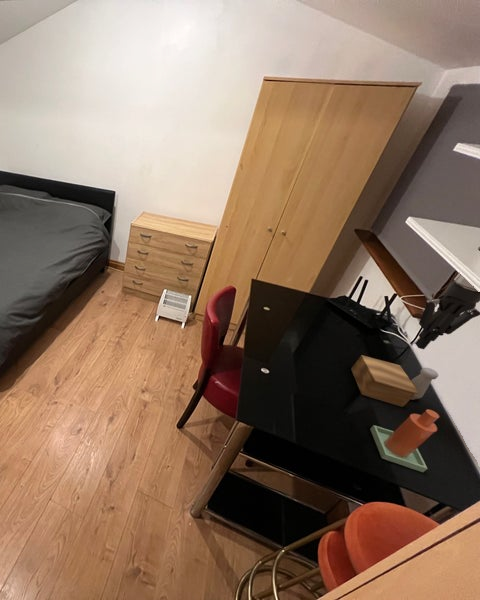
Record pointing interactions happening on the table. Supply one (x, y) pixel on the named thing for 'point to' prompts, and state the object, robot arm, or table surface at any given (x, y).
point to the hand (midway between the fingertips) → (419, 346)
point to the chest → (378, 387)
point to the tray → (411, 461)
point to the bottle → (412, 433)
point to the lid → (388, 374)
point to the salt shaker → (423, 381)
